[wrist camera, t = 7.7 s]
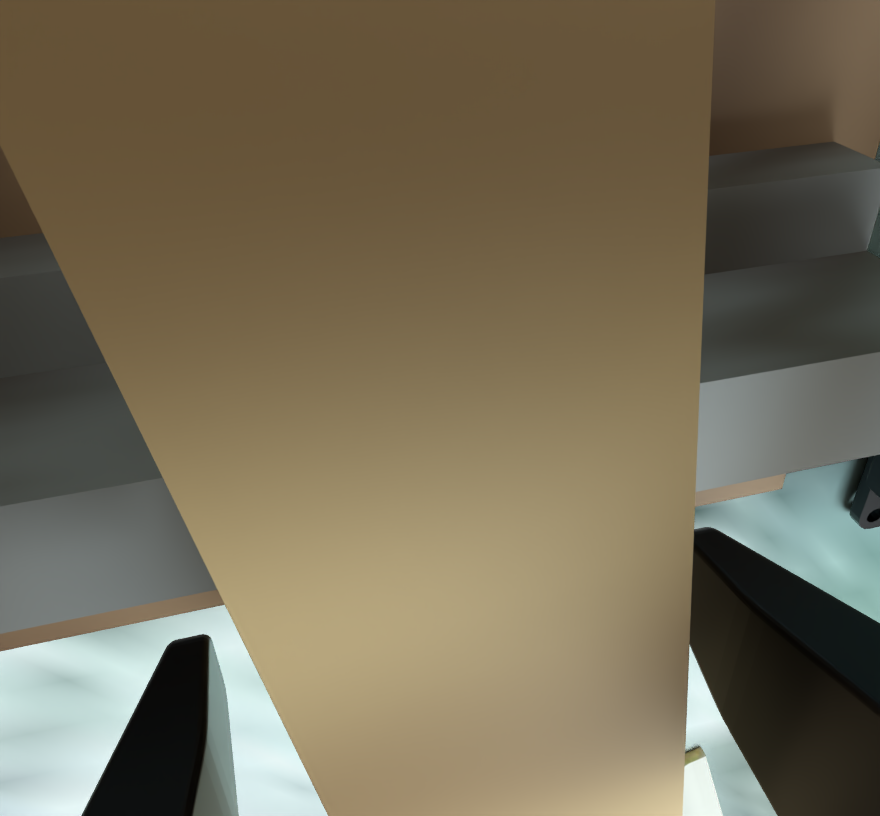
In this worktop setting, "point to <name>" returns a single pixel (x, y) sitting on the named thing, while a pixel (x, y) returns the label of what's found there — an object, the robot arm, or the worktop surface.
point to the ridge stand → (722, 349)
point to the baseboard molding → (699, 787)
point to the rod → (407, 359)
